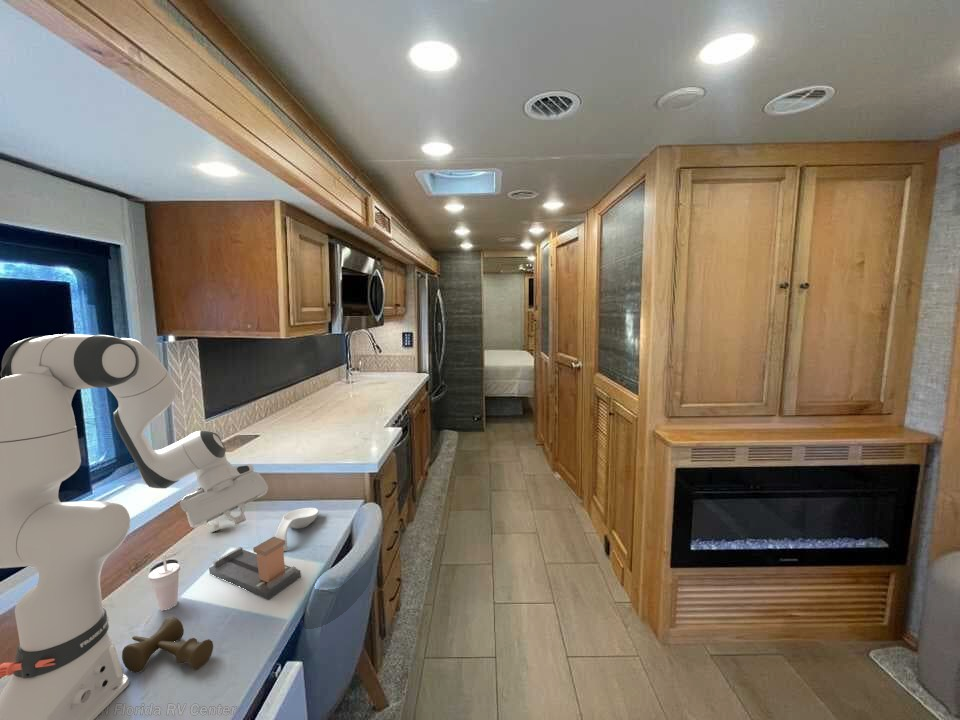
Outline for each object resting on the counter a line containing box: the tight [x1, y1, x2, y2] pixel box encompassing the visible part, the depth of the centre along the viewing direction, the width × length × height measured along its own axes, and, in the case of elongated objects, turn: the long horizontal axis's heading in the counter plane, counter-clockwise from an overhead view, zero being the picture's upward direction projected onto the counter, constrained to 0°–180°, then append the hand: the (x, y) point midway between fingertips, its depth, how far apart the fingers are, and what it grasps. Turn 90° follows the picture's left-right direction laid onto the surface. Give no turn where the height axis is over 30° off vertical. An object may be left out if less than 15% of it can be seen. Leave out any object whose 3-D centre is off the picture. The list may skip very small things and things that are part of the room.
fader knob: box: [253, 536, 286, 583], centre depth 108 cm, size 5×6×9 cm
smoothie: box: [148, 553, 181, 611], centre depth 101 cm, size 6×6×14 cm
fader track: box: [208, 546, 302, 601], centre depth 112 cm, size 26×10×4 cm, turn 64°
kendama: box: [121, 616, 214, 673], centre depth 85 cm, size 6×10×20 cm
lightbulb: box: [207, 516, 221, 533], centre depth 137 cm, size 6×6×11 cm
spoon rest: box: [274, 507, 320, 552], centre depth 135 cm, size 24×12×7 cm, turn 5°
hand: (240, 522), depth 111 cm, fingers closed
